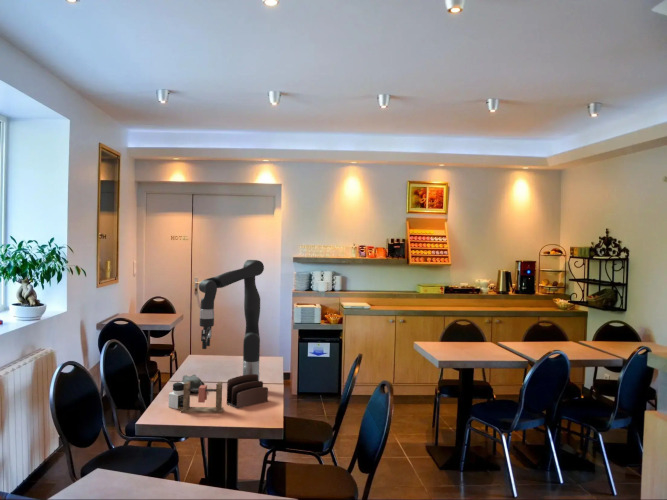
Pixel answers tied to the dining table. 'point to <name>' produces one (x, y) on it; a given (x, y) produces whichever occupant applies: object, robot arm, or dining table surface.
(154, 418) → the dining table surface
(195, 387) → the rock
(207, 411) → the rail stand
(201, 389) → the pink u-shaped bracket
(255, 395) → the letter holder
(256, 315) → the robot arm
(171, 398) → the medicine bottle
